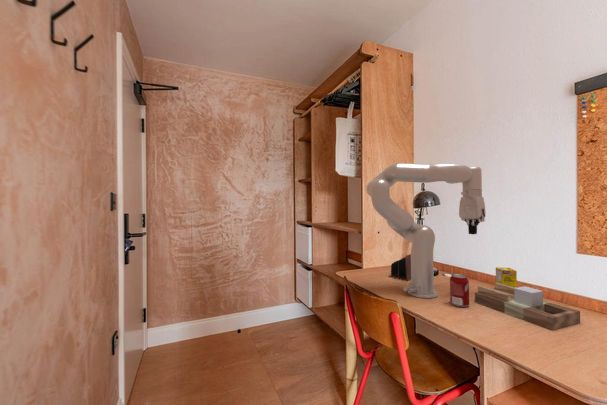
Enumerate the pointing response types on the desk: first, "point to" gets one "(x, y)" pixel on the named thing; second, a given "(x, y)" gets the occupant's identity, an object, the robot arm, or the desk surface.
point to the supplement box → (506, 276)
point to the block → (528, 296)
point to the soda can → (459, 290)
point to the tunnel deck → (527, 308)
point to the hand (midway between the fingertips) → (472, 233)
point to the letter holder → (402, 268)
